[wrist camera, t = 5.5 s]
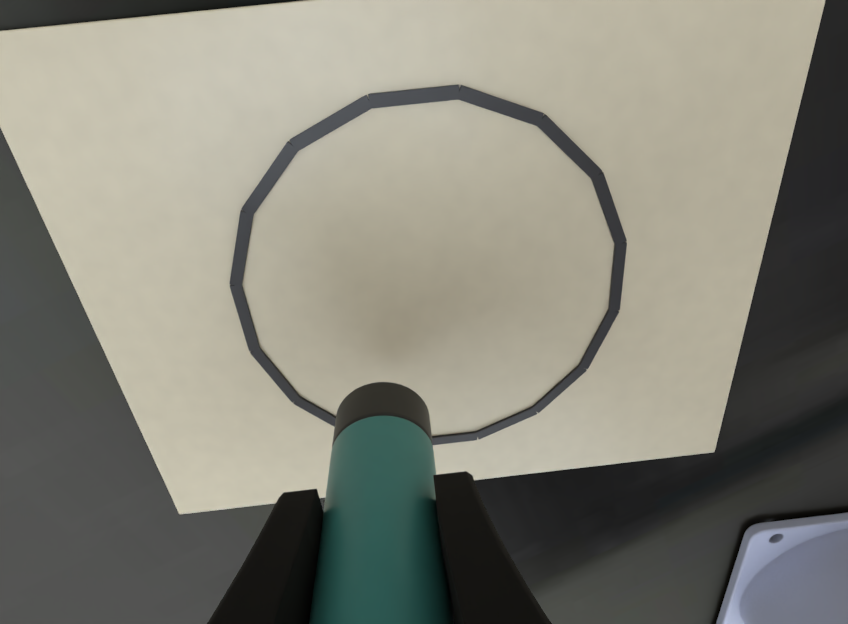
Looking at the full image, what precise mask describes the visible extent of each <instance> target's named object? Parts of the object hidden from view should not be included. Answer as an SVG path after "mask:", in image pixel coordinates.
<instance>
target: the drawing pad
mask: <svg viewBox="0 0 848 624" xmlns="http://www.w3.org/2000/svg"><path fill="white" fill-rule="evenodd" d="M824 4H825V0H303V1H293V2H283V3H273V4H263V5H253V6H243V7H233V8H223V9H213V10H203V11H193V12H183V13H173V14H163V15H153V16H143V17H133V18H123V19H113V20H103V21H93V22H83V23H73V24H63V25H53V26H43V27H33V28H23V29H13V30H3V31H0V128H1V130H2V132H3V134H4V136H5V138H6V141H7V143H8V145H9V147H10V149H11V151H12V154H13V156H14V158H15V160H16V162H17V164H18V166H19V169H20V171H21V173H22V175H23V177H24V179H25V182H26V184H27V186H28V188H29V190H30V192H31V195H32V197H33V199H34V201H35V203H36V205H37V208H38V210H39V212H40V214H41V216H42V218H43V221H44V223H45V225H46V227H47V229H48V231H49V233H50V236H51V238H52V240H53V242H54V244H55V246H56V249H57V251H58V253H59V255H60V257H61V259H62V262H63V264H64V266H65V268H66V270H67V272H68V275H69V277H70V279H71V281H72V283H73V285H74V288H75V290H76V292H77V294H78V296H79V298H80V301H81V303H82V305H83V307H84V309H85V311H86V313H87V316H88V318H89V320H90V322H91V324H92V326H93V329H94V331H95V333H96V335H97V337H98V339H99V342H100V344H101V346H102V348H103V350H104V352H105V355H106V357H107V359H108V361H109V363H110V365H111V368H112V370H113V372H114V374H115V376H116V378H117V380H118V383H119V385H120V387H121V389H122V391H123V393H124V396H125V398H126V400H127V402H128V404H129V406H130V409H131V411H132V413H133V415H134V417H135V419H136V422H137V424H138V426H139V428H140V430H141V432H142V435H143V437H144V439H145V441H146V443H147V445H148V448H149V450H150V452H151V454H152V456H153V458H154V460H155V463H156V465H157V467H158V469H159V471H160V473H161V476H162V478H163V480H164V482H165V484H166V486H167V489H168V491H169V493H170V495H171V497H172V499H173V502H174V504H175V506H176V508H177V510H178V512H179V514H187V513H196V512H204V511H213V510H222V509H230V508H239V507H247V506H256V505H265V504H273V503H276V502H277V500H278V498H279V497H280V496H281V495H282V494H283V493H284V492H292V491H301V490H309V489H317V491H318V495H319V498H325V497H326V489H327V481H328V474H329V466H330V458H331V451H332V443H333V436H334V428H335V420H336V414H337V410H338V408H339V406H340V404H341V402H342V401H343V400H344V398H345V397H346V396H347V395H348V394H350V393H351V392H352V391H354V390H355V389H357V388H359V387H361V386H363V385H366V384H370V383H375V382H392V383H397V384H401V385H403V386H406V387H408V388H410V389H412V390H413V391H414V392H416V393H417V394H418V395H419V396H420V397H421V398H422V399H423V401H424V402H425V404H426V406H427V408H428V411H429V416H430V425H431V433H432V442H433V451H434V459H435V468H436V475H438V474H446V473H455V472H464V471H467V472H468V473H470V474H471V475H473V479H474V480H480V479H488V478H497V477H505V476H514V475H523V474H531V473H540V472H548V471H557V470H566V469H574V468H583V467H591V466H600V465H609V464H617V463H626V462H634V461H643V460H652V459H660V458H669V457H677V456H686V455H695V454H703V453H712V452H715V448H716V444H717V440H718V436H719V432H720V428H721V424H722V420H723V416H724V411H725V407H726V403H727V399H728V395H729V391H730V387H731V383H732V379H733V375H734V371H735V367H736V363H737V359H738V354H739V350H740V346H741V342H742V338H743V334H744V330H745V326H746V322H747V318H748V314H749V310H750V306H751V302H752V297H753V293H754V289H755V285H756V281H757V277H758V273H759V269H760V265H761V261H762V257H763V253H764V249H765V245H766V241H767V236H768V232H769V228H770V224H771V220H772V216H773V212H774V208H775V204H776V200H777V196H778V192H779V188H780V184H781V179H782V175H783V171H784V167H785V163H786V159H787V155H788V151H789V147H790V143H791V139H792V135H793V131H794V127H795V122H796V118H797V114H798V110H799V106H800V102H801V98H802V94H803V90H804V86H805V82H806V78H807V74H808V70H809V65H810V61H811V57H812V53H813V49H814V45H815V41H816V37H817V33H818V29H819V25H820V21H821V17H822V13H823V8H824Z"/></svg>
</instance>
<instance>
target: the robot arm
mask: <svg viewBox="0 0 848 624" xmlns="http://www.w3.org/2000/svg"><path fill="white" fill-rule="evenodd" d="M433 478H434V487H435V496H436V505H437V514H438V523H439V532H440V541H441V550H442V555H443V560H444V565H445V570H446V575H447V581H448V586H449V592H450V598H451V606H452V614H453V623H454V624H551V622H550V621H549V619H548V618H547V616H546V615H545V613H544V612H543V610H542V609H541V607H540V605H539V604H538V602H537V601H536V599H535V597H534V596H533V594H532V593H531V591H530V589H529V588H528V586H527V584H526V583H525V581H524V579H523V578H522V576H521V574H520V572H519V571H518V569H517V567H516V566H515V564H514V562H513V560H512V559H511V557H510V555H509V554H508V552H507V550H506V548H505V546H504V544H503V543H502V541H501V539H500V537H499V535H498V533H497V531H496V529H495V527H494V525H493V523H492V521H491V519H490V517H489V515H488V513H487V511H486V509H485V507H484V504H483V502H482V500H481V497H480V495H479V492H478V490H477V487H476V485H475V482H474V479H473V475H471V474H470V473H468V472H467V471H464V472H455V473H446V474H438V475H433ZM322 522H323V510H322V506H321V502H320V499H319V495H318V491H317V489H309V490H301V491H292V492H284V493H283V494H282V495H281V496H280V497H279V498H278V500H277V502H276V504H275V506H274V508H273V510H272V512H271V514H270V516H269V518H268V520H267V521H266V523H265V525H264V527H263V529H262V531H261V533H260V535H259V536H258V538H257V540H256V542H255V544H254V546H253V547H252V549H251V551H250V553H249V554H248V556H247V558H246V560H245V561H244V563H243V565H242V567H241V569H240V570H239V572H238V574H237V575H236V577H235V579H234V580H233V582H232V584H231V585H230V587H229V589H228V590H227V592H226V594H225V595H224V597H223V599H222V600H221V602H220V604H219V605H218V607H217V609H216V610H215V612H214V614H213V615H212V617H211V618H210V620H209V622H208V623H207V624H309V619H310V612H311V604H312V596H313V589H314V581H315V574H316V567H317V560H318V552H319V545H320V537H321V529H322ZM716 624H848V512H847V513H839V514H831V515H822V516H814V517H805V518H797V519H789V520H780V521H772V522H763V523H757V524H754V525H752V526H750V527H749V528H748V529H746V531H745V533H744V536H743V539H742V543H741V546H740V549H739V552H738V555H737V558H736V562H735V565H734V568H733V571H732V574H731V577H730V581H729V584H728V587H727V590H726V593H725V596H724V600H723V603H722V606H721V609H720V612H719V615H718V619H717V622H716Z"/></svg>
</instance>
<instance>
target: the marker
mask: <svg viewBox="0 0 848 624" xmlns="http://www.w3.org/2000/svg"><path fill="white" fill-rule="evenodd" d="M433 475H436V468H435V459H434V451H433V442H432V433H431V425H430V416H429V411H428V408H427V406H426V404H425V402H424V401H423V399H422V398H421V397H420V396H419V395H418V394H417V393H416V392H414V391H413V390H412V389H410V388H408V387H406V386H403V385H401V384H397V383H392V382H375V383H370V384H366V385H363V386H361V387H359V388H357V389H355V390H354V391H352V392H351V393H350V394H348V395H347V396H346V397H345V398H344V400H343V401H342V402H341V404H340V406H339V408H338V410H337V414H336V420H335V428H334V436H333V443H332V451H331V458H330V466H329V474H328V481H327V489H326V497H325V504H324V512H323V522H322V529H321V537H320V545H319V552H318V560H317V567H316V574H315V581H314V589H313V596H312V604H311V612H310V619H309V624H454V623H453V614H452V606H451V598H450V592H449V586H448V581H447V575H446V570H445V565H444V560H443V555H442V550H441V541H440V532H439V523H438V514H437V505H436V496H435V487H434V478H433Z"/></svg>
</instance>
